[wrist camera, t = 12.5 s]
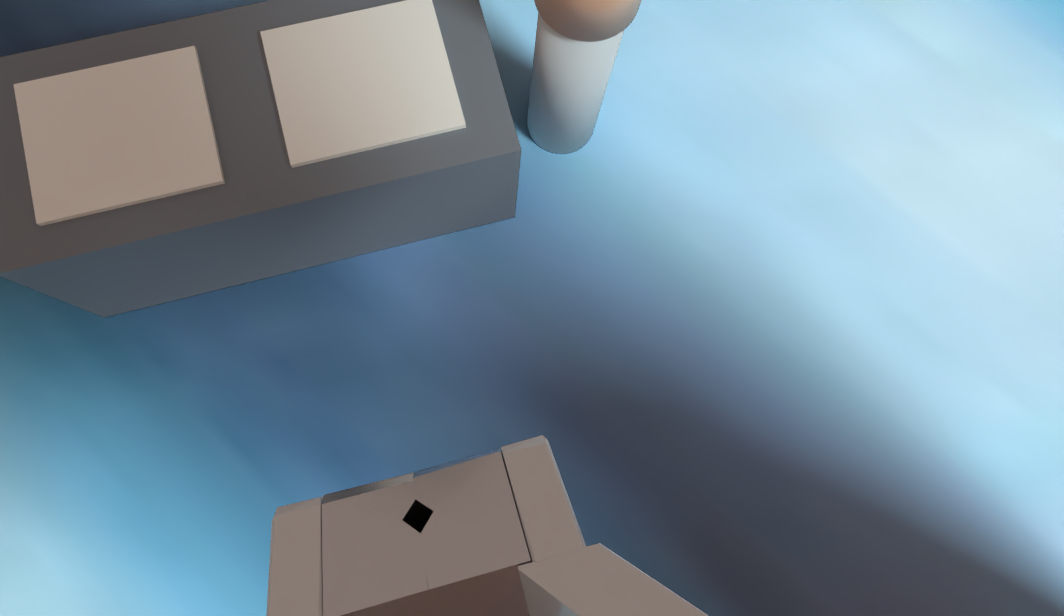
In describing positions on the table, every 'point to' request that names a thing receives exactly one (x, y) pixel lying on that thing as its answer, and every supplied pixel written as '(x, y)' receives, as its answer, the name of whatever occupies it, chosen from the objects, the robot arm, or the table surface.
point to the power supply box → (267, 143)
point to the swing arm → (588, 17)
